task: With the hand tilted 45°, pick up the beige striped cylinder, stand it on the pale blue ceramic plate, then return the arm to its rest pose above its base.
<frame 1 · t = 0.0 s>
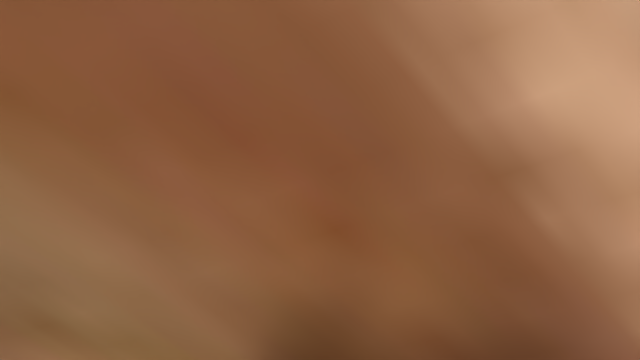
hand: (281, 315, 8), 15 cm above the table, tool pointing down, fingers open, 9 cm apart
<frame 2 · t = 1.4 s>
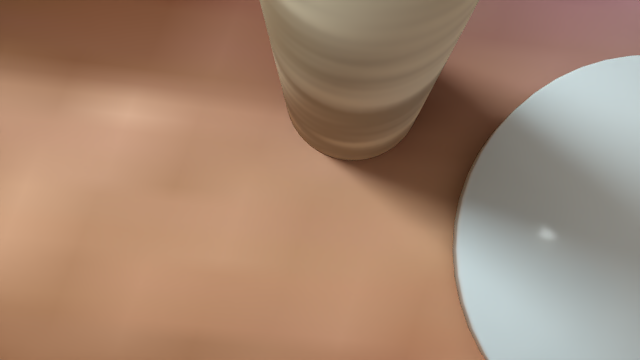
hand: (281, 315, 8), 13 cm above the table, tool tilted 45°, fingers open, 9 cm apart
beige striped cylinder: (352, 94, 23), on the table
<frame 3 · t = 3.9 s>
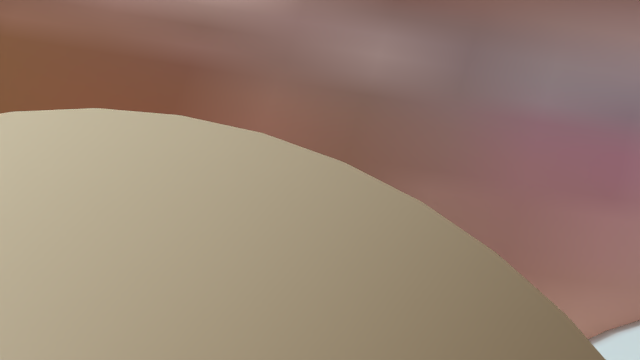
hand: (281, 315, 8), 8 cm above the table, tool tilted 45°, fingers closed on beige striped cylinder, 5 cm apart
beige striped cylinder: (293, 353, 16), on the table, touching gripper
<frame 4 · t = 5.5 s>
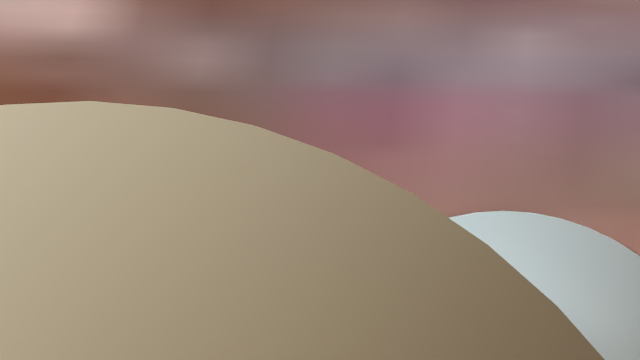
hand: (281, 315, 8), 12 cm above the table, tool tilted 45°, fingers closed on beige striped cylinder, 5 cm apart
beige striped cylinder: (292, 352, 16), point 5 cm above the table, touching gripper
when the fingers open (10 cm above the table, at t = 6.9 s): beige striped cylinder drops 1 cm, resting on plate.
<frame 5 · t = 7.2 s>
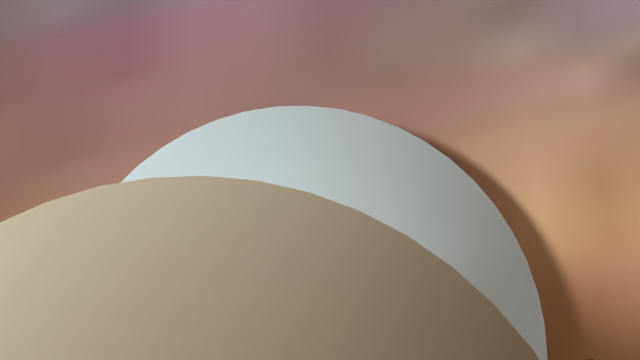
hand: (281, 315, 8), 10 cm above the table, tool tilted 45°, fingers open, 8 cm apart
plate: (298, 342, 18), on the table
beige striped cylinder: (293, 349, 17), point 1 cm above the table, touching plate
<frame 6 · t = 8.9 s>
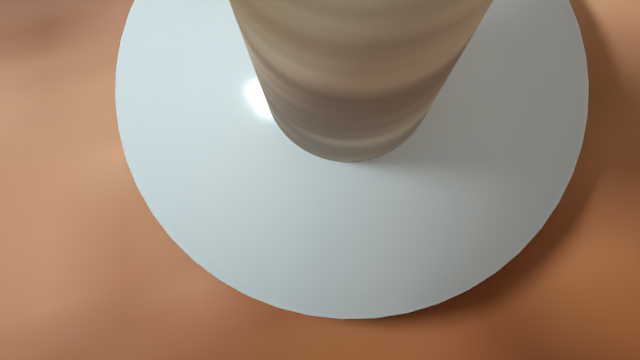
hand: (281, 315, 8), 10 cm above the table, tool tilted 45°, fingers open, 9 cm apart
plate: (349, 89, 19), on the table
beige striped cylinder: (348, 79, 18), point 1 cm above the table, touching plate
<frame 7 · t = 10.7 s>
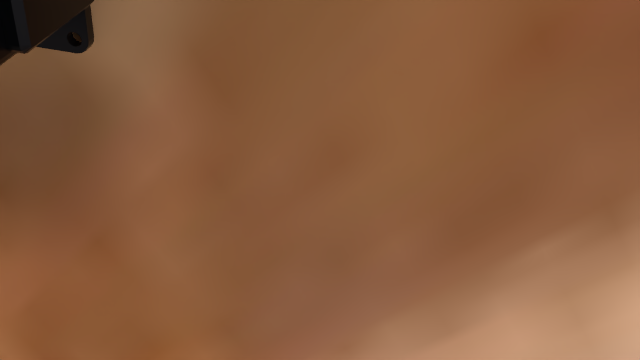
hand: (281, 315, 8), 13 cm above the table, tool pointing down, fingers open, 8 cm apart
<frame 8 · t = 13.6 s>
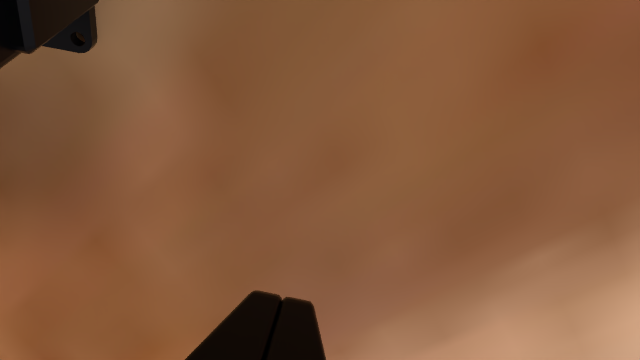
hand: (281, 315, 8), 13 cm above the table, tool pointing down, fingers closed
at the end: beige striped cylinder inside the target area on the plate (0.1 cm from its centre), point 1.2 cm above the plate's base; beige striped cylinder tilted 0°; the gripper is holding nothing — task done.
